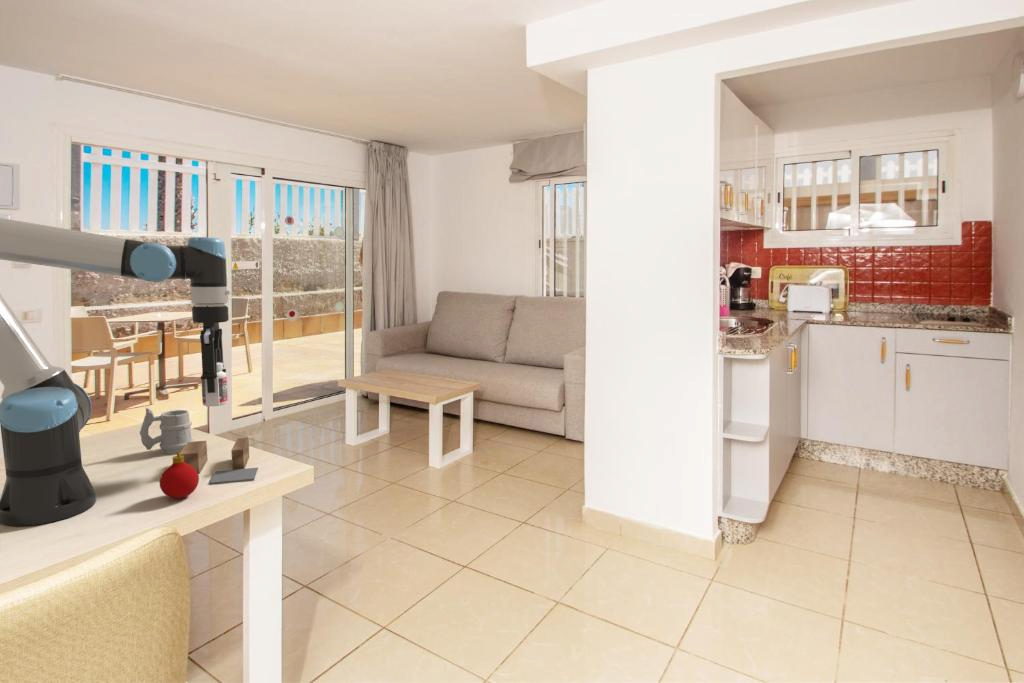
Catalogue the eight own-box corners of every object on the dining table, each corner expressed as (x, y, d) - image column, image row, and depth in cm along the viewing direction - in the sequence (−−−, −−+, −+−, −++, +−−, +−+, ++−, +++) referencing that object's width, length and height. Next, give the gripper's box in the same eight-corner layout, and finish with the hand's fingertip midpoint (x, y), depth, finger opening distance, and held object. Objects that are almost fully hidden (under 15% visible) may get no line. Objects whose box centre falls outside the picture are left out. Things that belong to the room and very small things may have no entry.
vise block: (179, 475, 136) (178, 454, 135) (189, 461, 145) (188, 441, 145) (244, 470, 140) (243, 449, 139) (249, 456, 149) (248, 437, 148)
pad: (209, 484, 131) (209, 482, 130) (215, 472, 138) (215, 471, 138) (254, 480, 133) (254, 478, 133) (257, 469, 140) (257, 467, 140)
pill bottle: (229, 405, 140) (227, 364, 139) (204, 408, 137) (201, 366, 136) (226, 400, 144) (224, 361, 143) (201, 403, 141) (199, 362, 140)
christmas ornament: (202, 498, 123) (199, 452, 121) (162, 506, 119) (159, 458, 117) (197, 488, 128) (194, 443, 127) (159, 495, 124) (155, 449, 123)
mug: (196, 451, 154) (193, 405, 152) (142, 459, 147) (138, 412, 145) (192, 443, 160) (189, 400, 158) (140, 451, 153) (136, 405, 151)
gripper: (221, 307, 130) (226, 411, 133) (233, 302, 147) (238, 394, 150) (182, 308, 128) (189, 413, 131) (200, 302, 145) (205, 395, 148)
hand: (215, 402), depth 141 cm, fingers closed on pill bottle, 5 cm apart
